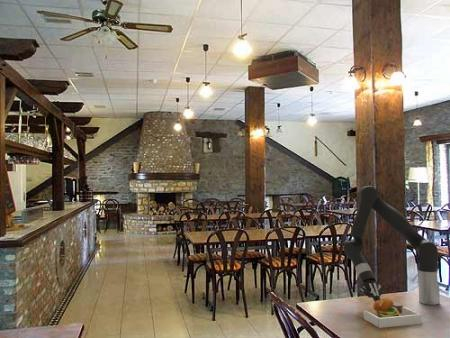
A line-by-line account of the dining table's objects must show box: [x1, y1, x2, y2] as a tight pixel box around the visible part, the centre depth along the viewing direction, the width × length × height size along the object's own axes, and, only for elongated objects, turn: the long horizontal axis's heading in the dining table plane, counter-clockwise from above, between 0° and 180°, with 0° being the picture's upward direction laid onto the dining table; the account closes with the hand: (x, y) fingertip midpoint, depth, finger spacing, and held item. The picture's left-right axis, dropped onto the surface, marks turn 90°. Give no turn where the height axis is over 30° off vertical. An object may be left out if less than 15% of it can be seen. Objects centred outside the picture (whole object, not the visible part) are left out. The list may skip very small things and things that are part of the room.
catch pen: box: [363, 306, 423, 329], centre depth 182 cm, size 22×12×4 cm, turn 102°
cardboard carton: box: [392, 301, 404, 313], centre depth 198 cm, size 4×7×3 cm, turn 12°
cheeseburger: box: [373, 297, 400, 318], centre depth 187 cm, size 10×11×10 cm
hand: (379, 304), depth 192 cm, fingers closed
